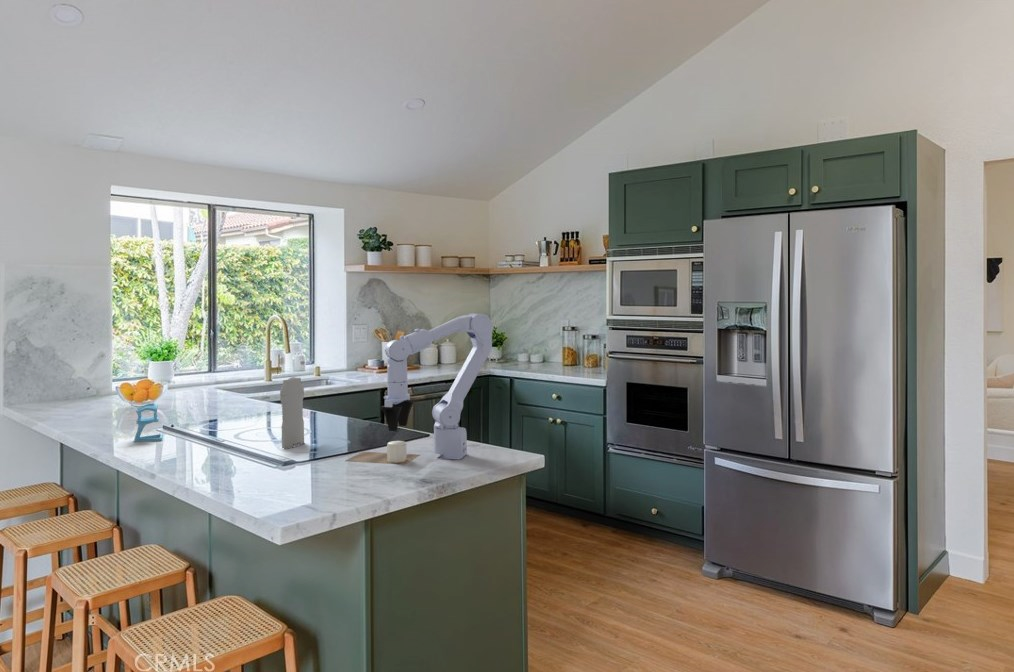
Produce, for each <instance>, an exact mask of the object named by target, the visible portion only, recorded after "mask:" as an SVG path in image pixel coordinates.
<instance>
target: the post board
mask: <svg viewBox="0 0 1014 672" xmlns="http://www.w3.org/2000/svg"><path fill="white" fill-rule="evenodd" d="M419 456H420V454H416V453H415V454H414V453H407V460H406V461H404V462H397V463H396V462H389V461H387V452H378V451H377V452H375V451H373V452H372V451H361V452H359V453H357V454H356V455H354V456H352V457H350V458H347V459H346V460H345V462H355V463H369V464H370V463H371V464H373V463H374V464H389V465H403V466H404V465H407V464H408V463H410V462H412V461H413V460H415V459H416V458H418V457H419Z"/></svg>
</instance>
